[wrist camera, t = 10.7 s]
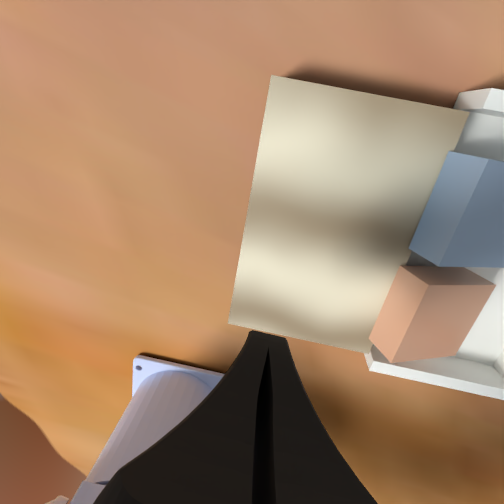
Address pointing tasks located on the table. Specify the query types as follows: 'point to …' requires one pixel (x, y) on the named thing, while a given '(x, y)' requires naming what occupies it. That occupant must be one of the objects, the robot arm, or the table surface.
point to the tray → (500, 301)
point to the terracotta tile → (429, 312)
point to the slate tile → (464, 215)
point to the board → (335, 208)
